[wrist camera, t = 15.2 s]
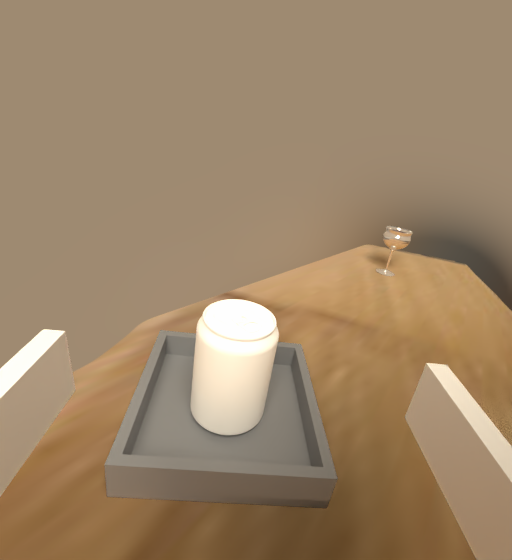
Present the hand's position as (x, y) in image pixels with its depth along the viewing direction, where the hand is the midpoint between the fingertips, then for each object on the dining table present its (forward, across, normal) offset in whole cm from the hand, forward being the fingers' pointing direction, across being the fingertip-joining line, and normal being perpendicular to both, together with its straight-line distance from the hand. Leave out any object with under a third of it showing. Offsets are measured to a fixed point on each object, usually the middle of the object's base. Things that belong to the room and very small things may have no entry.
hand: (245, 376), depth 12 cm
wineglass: (+72, +37, -24) cm, 85 cm away
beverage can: (+17, -1, -20) cm, 27 cm away
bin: (+17, -1, -21) cm, 27 cm away
